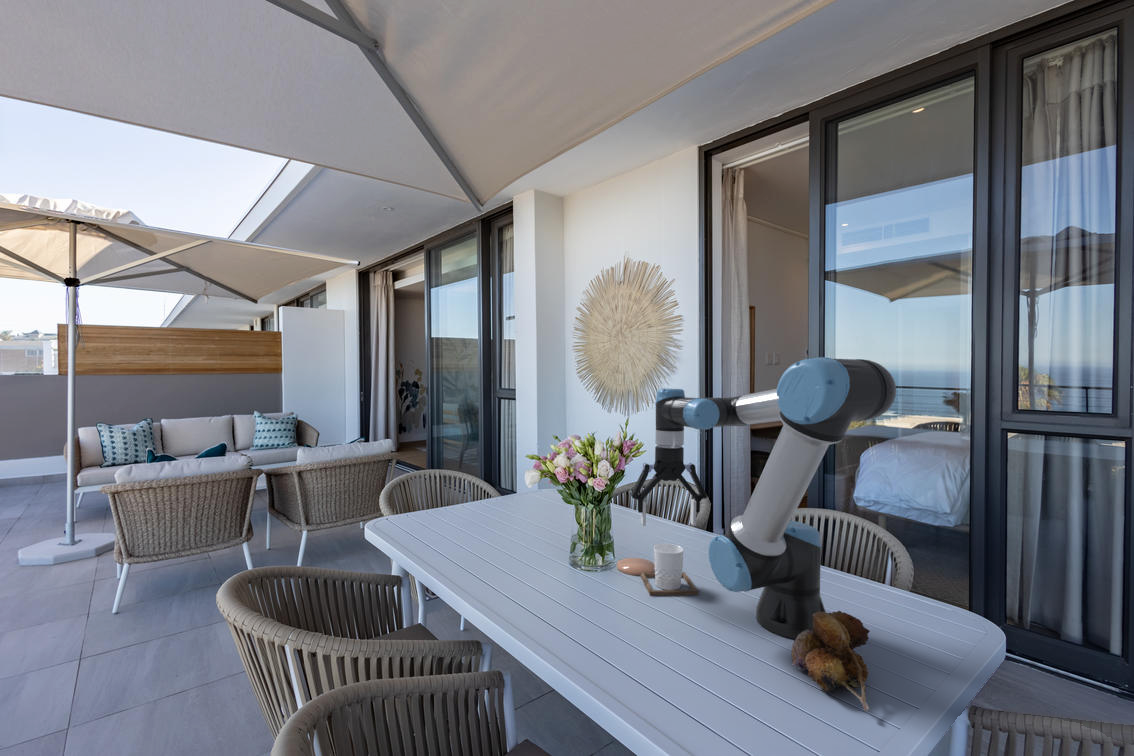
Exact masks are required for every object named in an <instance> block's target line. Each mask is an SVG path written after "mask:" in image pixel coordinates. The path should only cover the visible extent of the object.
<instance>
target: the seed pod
mask: <svg viewBox="0 0 1134 756" xmlns="http://www.w3.org/2000/svg"><path fill="white" fill-rule="evenodd" d="M812 616H813V629H812V630H809V629H807V630H805V631H803V632H802V633H800V634H798V636H797V638H796V639H794V641H793V642H792V645H791V657H792V665H791V666H792V667H794V666H796V667H797V668H800V669H807V670H808V674H807V675H808V676H810V678H811V679H812V680H813V681H814V682H816V684H817V686H819V687H820V689H822V690H824V691H826V692H836V691H838V689H839V688H840V687H842V686H843V687H844V688H846V689H847V690H848V691H850V692H851V694H853V695H854V696H856V698H857V699H858V700H859V701H860V702H861V704H862V708H863V710H864V711H865V712H867V711H869V710H870V706H869V705H868V703H867V702H866V701H867V700H866V685H865V683H866V682H867V681H866V680H867V677H868V675H869V671H868V667H867V663H865V662H864V657H863V656H861V655H860V654H858V653H857V652H856V651H855V650H854V649H856V648H858V647H859V648H861V646H864V645H867V642H868V639H869V633H870V632H871V630H869V629H868V628H867V627H865V626H864V623H863V622H862V621H861V620H860V619H859V618H858V617H857V618H856V617H855V616H853V615H851V614H849V613H846V612H842V611H841V610H837V611H833V612H817V613H814V614H813V615H812ZM849 685H850V686H849ZM853 688H861V695H860V694H859V693H857V692H856V691H855V690H854V689H853Z"/></svg>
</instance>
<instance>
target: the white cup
mask: <svg viewBox="0 0 1134 756" xmlns="http://www.w3.org/2000/svg"><path fill="white" fill-rule="evenodd" d="M653 563H654V567H655V571H654V573H655V577H654V578H655V585H656V587H657V588H659V589H660V590H680V589H681V586H682V578H683V577H682V572H683V566H684V565H683V564H684V547H682V546H680V545H677V544H673V543H658V544H656V545H654V546H653Z"/></svg>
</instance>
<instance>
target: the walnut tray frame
mask: <svg viewBox="0 0 1134 756" xmlns="http://www.w3.org/2000/svg"><path fill="white" fill-rule="evenodd" d="M640 578H641V580H642V583H643V584H644V586H645V588H646V590H647V592H648V595H649V597H650V596H653V597H654V596H657V597H658V596H699V590H698V589H697V587H696V586H695V584H694V583H693V581H692V579H690V577H689V576H688V575H687V574H686V572H685V571H682V577H681V578H683V579H684V581H685V583H686V584H687V586H688V587H689V588H690V589H677V590H665V589H659V590H657V589H655V590H653V588H652V587H651V585H650V583H649V581H648V580H647V578H655V572H653V573H641V575H640Z"/></svg>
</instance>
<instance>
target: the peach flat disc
mask: <svg viewBox="0 0 1134 756" xmlns="http://www.w3.org/2000/svg"><path fill="white" fill-rule="evenodd" d="M616 569H617V570H618V571H619V572H620V573H623V574H626V575H631V576H641V573H655V567H654V562H653V561H650V560H648V559H646V558H639V557H626V558H622V559H620V560H618V561H617V562H616Z"/></svg>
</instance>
